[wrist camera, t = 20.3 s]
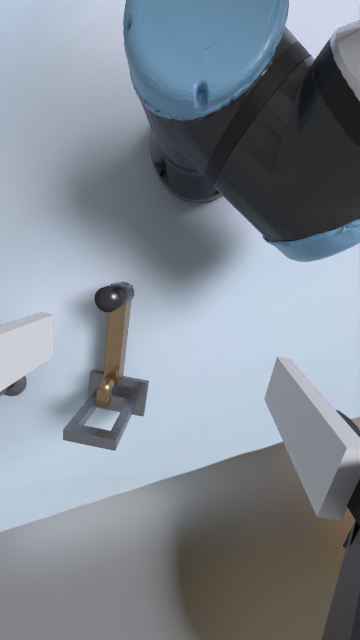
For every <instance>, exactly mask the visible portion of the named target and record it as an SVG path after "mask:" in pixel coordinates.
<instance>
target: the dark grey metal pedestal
mask: <svg viewBox="0 0 360 640" xmlns="http://www.w3.org/2000/svg"><path fill="white" fill-rule="evenodd" d="M25 387H26V378H25V376H23V377H22V378H20V379H19V380H17V381H16V382H14V383H13V384H11V385H10V386H8V387H7V388H5V389H4V390H2V391H1V392H0V396H1V395H3V394H5V395H8V396H15V395H18V394H20V393H21V392H22V391H23V390H24V389H25Z"/></svg>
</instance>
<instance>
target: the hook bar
mask: <svg viewBox="0 0 360 640" xmlns="http://www.w3.org/2000/svg"><path fill="white" fill-rule="evenodd" d="M133 297H134V289H133V285H130V284H129V283H127V282H120V283H114V284H111V285H110V286H107V287H104V288H101V289H99V290H98V291H97V292H96V294H95V303H96V305H97V307H98V308H99V309H100V310H102V311H104V312H109V316H108V328H107V340H106V352H105V364H104V375H103V381H102V382H101V383H100V384H99V386H98V387H97V398H96V406H99V407H104V408H108V406H109V405H110V403H111V399H112V389H113V387H114V385H119V383H120V382H121V380H122V378H123V372H124V363H125V353H126V344H127V335H128V326H129V316H130V307H131V300H132V299H133Z"/></svg>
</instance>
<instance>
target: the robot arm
mask: <svg viewBox="0 0 360 640" xmlns="http://www.w3.org/2000/svg"><path fill="white" fill-rule="evenodd" d="M288 7H289V0H126V4H125V11H124V21H123V26H124V30H123V33H124V45H125V51H126V56H127V60H128V65H129V69H130V75H131V80H132V82H133V86H134V89H135V90H136V94H137V96H138V97H139V98H140V100H141V103H142V105H143V108H144V110H145V113H146V115H147V118H148V120H149V123H150V125H151V128H152V134H151V155H152V160H153V164H154V167H155V170H156V172H157V174H158V176H159V178H160V180H161V182H162V183H163V185H164V186H165V187H166V188H167V189H168V190H169V191H170V192H171V193H172V194H173V195H175V196H176V197H178V198H180V199H182V200H184V201H188V202H193V203H204V202H209V201H213V200H215V199H217V198H219V197H221V196H224V197H225V198H226V199H227V200H228V201H229V202H230V203H231V204H232V205H233V206H234V207H235V208H236V209H237V210H238V211H239V212H240V213H241V214H242V215H243V216H244V217H245V218H246V219H247V220H248V221H249V222H250V223H251V224H252V225H253V226H254V227H255V228H256V229H257V230H258V231H259V232H260V233H261V234H262V235H263V238H264V240H265V241H266V242H268V243H270V244H271V245H274V246H275V247H276V248H277V249H278V250H279V251H281V252H282V253H283V254H284V255H285V256H286V257H288V258H289V259H292V260H296V261H300V262H308V261H315V260H320V259H323V258H327V257H329V256H332V255H335V254H337V253H340V252H342V251H344V250H346V249H348V248H350V247H353V246H355V245H356V244H358V243H360V20H358V21H356V22H353V23H351V24H348V25H346V26H343V27H341V28H338V29H337V30H336V31H335V32H334V34H333V35H332V36H331V38H330V39H329V41H328V42H327V43H326V45H325V46H324V48H323V49H322V51H321V52H320V53H319V55H318V56H317V58H316V59H315V60H314V58H313V57H312V56H311V55H310V54H309V53H308V52H307V50H306V49H305V48H304V47H303V46H302V45H301V44H300V42H299V41H298V40H297V39H296V38H295V37H294V36H293V34H292V33H291V32H290V31H289V30H288V29H287V28H286V26H285V24H286V20H287V16H288ZM53 322H54V314H49V313H43V312H40V313H37V314H34V315H31V316H28V317H25V318H22V319H19V320H16V321H13V322H10V323H7V324H4V325H1V326H0V392H1V391H2V390H4V389H5V388H7V387H8V386H10V385H11V384H13V383H14V382H16V381H17V380H19V379H20V378H22V377H23V376H25V375H26V374H28V373H29V372H31V371H32V370H34V369H35V368H37V367H38V366H40V365H41V364H43V363H44V362H46V361H47V360H49V359H50V358H52V357H53ZM265 402H266V404H267V406H268V408H269V411H270V413H271V415H272V417H273V419H274V422H275V424H276V426H277V428H278V431H279V433H280V435H281V437H282V439H283V442H284V444H285V446H286V448H287V451H288V453H289V455H290V457H291V460H292V462H293V464H294V466H295V468H296V471H297V473H298V475H299V477H300V479H301V482H302V484H303V486H304V488H305V491H306V493H307V495H308V497H309V500H310V502H311V504H312V506H313V509H314V511H315V513H316V515H317V517H322V518H327V519H331V520H336V521H341V520H342V518H343V516H344V514H345V512H346V510H347V508H349V510H350V512H351V513H352V515H353V516H354V518H355V522H354V524H353V526H352V528H351V531H350V532H349V534H348V537H347V539H346V540H345V543H344V545H343V547H345V548H346V551H345V554H344V558H343V562H342V566H341V569H340V573H339V577H338V580H337V584H336V588H335V592H334V596H333V599H332V603H331V607H330V610H329V614H328V618H327V622H326V625H325V629H324V633H323V637H322V640H360V430H359V428H358V427H357V426H356V425H355V424H354V423H353V422H352V421H351V419H349V418H348V417H347V416H345V415H344V414H342V413H341V412H340V411H338V410H335V409H334V408H333V407H332V406H331V405H330V403H329V402H328V401H327V400H326V399H325V398H324V397H323V395H322V394H321V393H320V392H319V391H318V390H317V389H316V388H315V386H314V385H313V384H312V383H311V382H310V381H309V380H308V379H307V377H306V376H305V375H304V374H303V373H302V372H301V371H300V370H299V368H298V367H297V366H296V365H295V364H294V363H293V362H292V360H290V359H285V358H280V357H277V359H276V362H275V366H274V369H273V372H272V376H271V379H270V382H269V385H268V389H267V392H266V395H265Z"/></svg>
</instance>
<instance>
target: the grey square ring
mask: <svg viewBox="0 0 360 640" xmlns="http://www.w3.org/2000/svg"><path fill="white" fill-rule="evenodd" d="M103 375H104V372H99V371H93V370H92V371H91V376H90V391H89V398H88V400H87V401H86V402H85V403H84V405H83V406H82V407H81V408H80V410H79V411H78V412H77V413H76V415H75V416H74V417H73V418H72V420H71V421H70V422H69V423H68V424H67V426H66V427H65V428H64V430H63V440H66V441H71V442H76V443H80V444H85V445H90V446H95V447H100V448H105V449H110V450H116V448H117V446H118V444H119V441H120V439H121V437H122V435H123V432H124V430H125V428H126V426H127V423H128V421H129V419H130V417H131V415H132V414H134V415H139V416H144V412H145V405H146V398H147V390H148V383H149V381H146V380H140V379H135V378H130V377H125V376H123V378H122V380H121V382H120V383H119V385H114V387H113V389H112V399H111V403H110V405H109V406H108V408H104V407H99V406H96V398H97V387H98V386H99V384H100V383H101V382H102V381H103ZM96 407H98V408H103V409H109V410H114V411H119V412H121V413H120V415H119V416H118V418H117V420H116V422H115V424H114V426H113V428H112V430H111V431H108V430H103V429H98V428H93V427H88V426H84V424H85V423H86V422H87V420H88V419H89V417H90V416H91V414H92V413H93V412H94V410H95V409H96Z"/></svg>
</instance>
